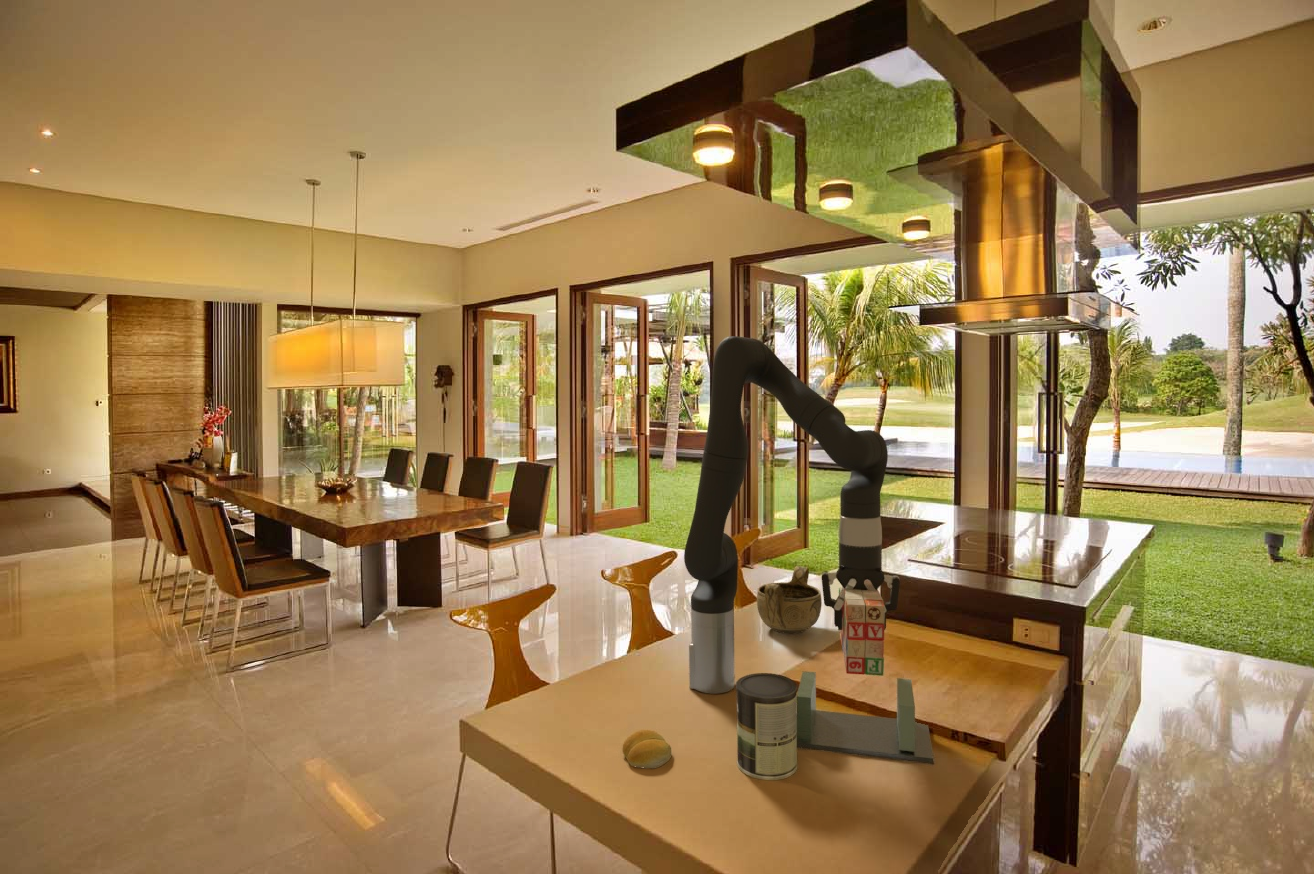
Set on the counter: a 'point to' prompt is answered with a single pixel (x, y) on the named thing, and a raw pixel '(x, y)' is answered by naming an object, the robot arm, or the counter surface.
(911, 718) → the sliding jaw
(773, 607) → the ceramic bowl
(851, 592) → the stack of blocks
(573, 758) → the counter surface
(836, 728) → the vise
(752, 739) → the coffee can
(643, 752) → the bread roll
